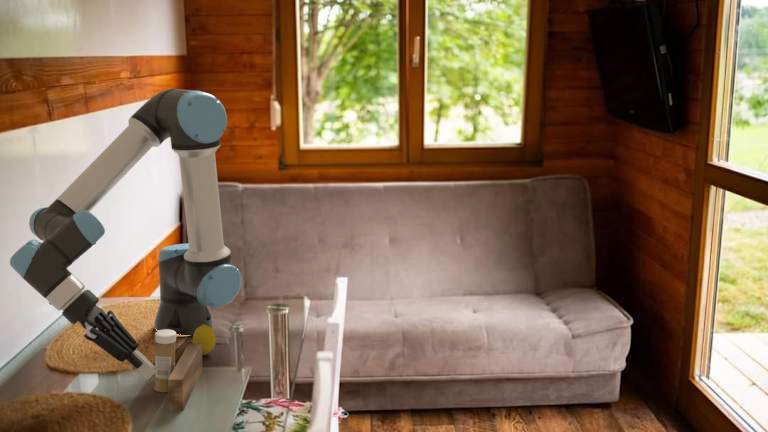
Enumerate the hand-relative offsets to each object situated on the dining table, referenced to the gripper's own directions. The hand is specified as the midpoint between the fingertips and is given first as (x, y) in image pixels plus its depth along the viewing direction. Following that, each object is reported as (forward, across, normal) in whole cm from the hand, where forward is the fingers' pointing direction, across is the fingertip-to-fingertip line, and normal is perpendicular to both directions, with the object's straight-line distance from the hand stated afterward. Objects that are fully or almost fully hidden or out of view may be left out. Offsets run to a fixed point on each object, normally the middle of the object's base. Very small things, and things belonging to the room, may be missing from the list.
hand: (152, 374), depth 173 cm
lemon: (+8, -20, +3) cm, 22 cm away
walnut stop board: (+8, 0, +3) cm, 8 cm away
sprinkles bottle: (+4, 0, -1) cm, 5 cm away
